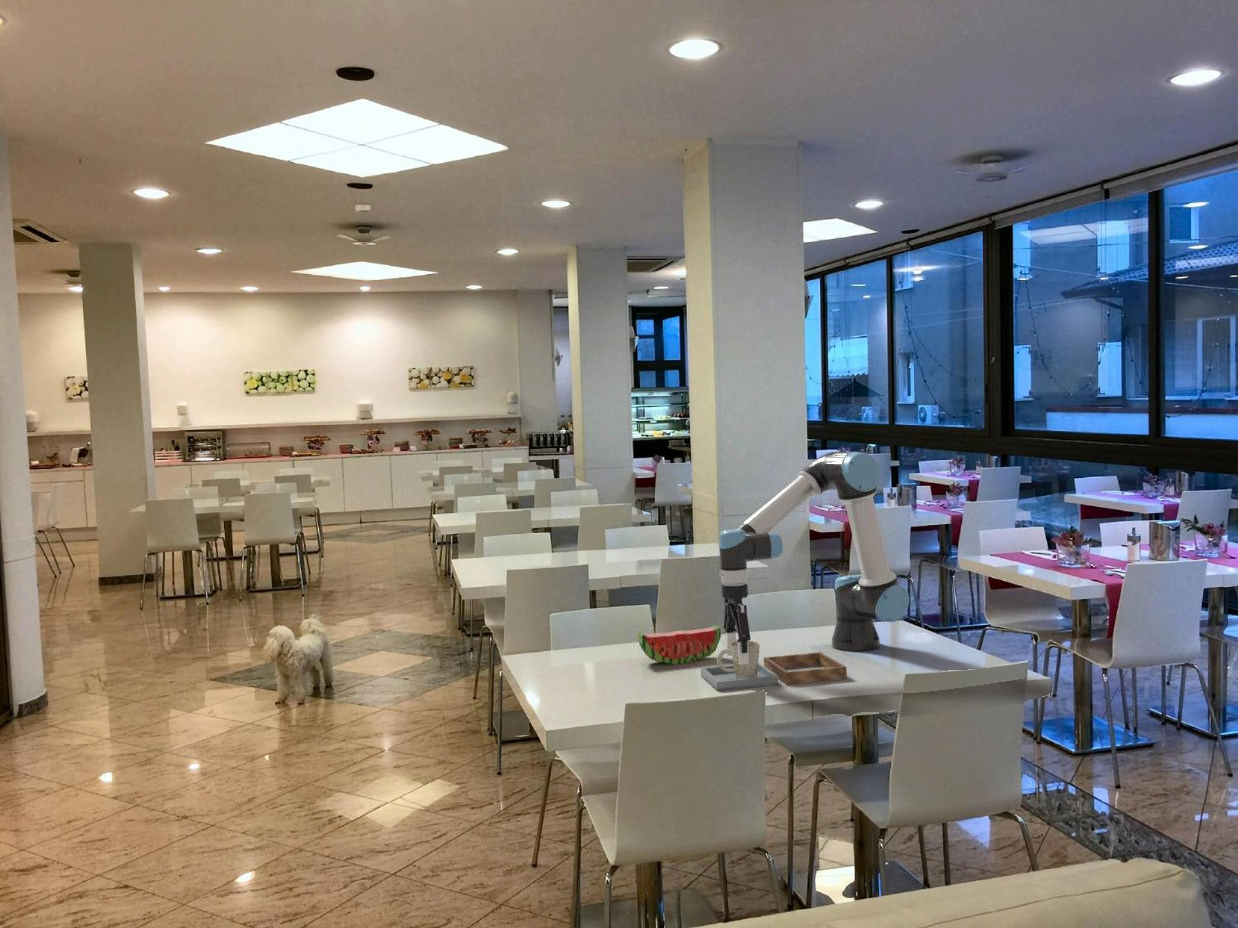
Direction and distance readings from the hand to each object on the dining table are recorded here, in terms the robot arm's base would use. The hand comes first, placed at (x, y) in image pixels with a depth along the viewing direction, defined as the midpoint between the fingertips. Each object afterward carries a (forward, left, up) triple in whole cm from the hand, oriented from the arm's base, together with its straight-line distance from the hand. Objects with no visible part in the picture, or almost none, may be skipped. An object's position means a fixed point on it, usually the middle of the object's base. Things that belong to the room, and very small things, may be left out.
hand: (737, 659), depth 286 cm
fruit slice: (+10, -29, -6) cm, 31 cm away
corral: (-20, 0, -6) cm, 21 cm away
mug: (0, 0, -6) cm, 6 cm away
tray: (0, 0, -6) cm, 6 cm away
